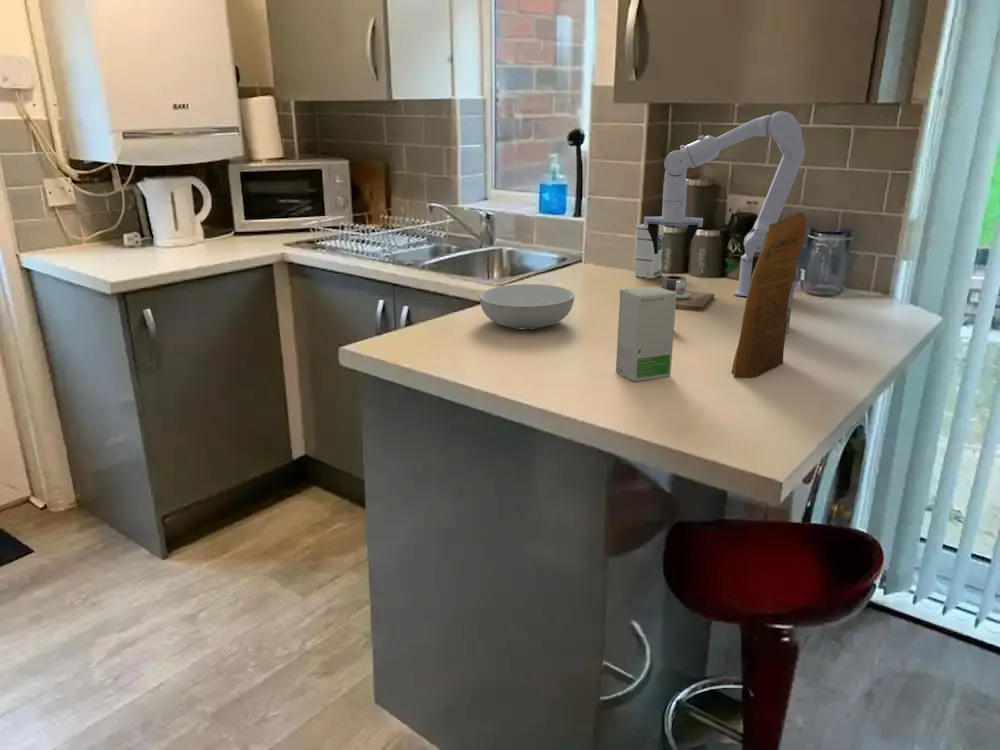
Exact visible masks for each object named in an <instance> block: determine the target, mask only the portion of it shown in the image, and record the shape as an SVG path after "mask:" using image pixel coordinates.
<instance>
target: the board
mask: <svg viewBox="0 0 1000 750" xmlns="http://www.w3.org/2000/svg"><path fill="white" fill-rule="evenodd" d="M666 290H668V289H666ZM670 291H676V290H670ZM685 291H686V290H685ZM686 292H689V293H691V298H690V299H687V300H676V307H675V309H678V310H682V309H683V310H688V309H692V310H691V311H698V310H701V311H700V312H702V311H703V310H704V309H705V308H706V307H707V306H709V304H710V303H709V302H710V301H711V300H712V301H713V299H714V298H715V293H707V292H697V291H686ZM712 301H711V302H712Z"/></svg>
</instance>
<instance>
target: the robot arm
mask: <svg viewBox="0 0 1000 750" xmlns="http://www.w3.org/2000/svg"><path fill="white" fill-rule="evenodd" d="M767 134H768V135H769V136H770V137H771V138H772V139H773V140H774V141H775V142H776V143H777V147H778V148H779V150H780V151H781V154H782V157H781V159H780V162H779V165H778V166H777V169H776V171H775V174H774V176H773V178H772V182H771V184H770V186H769V190H768V192H767V195H766V196H765V198H764V201H763V204H762V206H761V209H760V211H759V215H758V217H757V218H756V220H755V222H754V225H753V227H752V228H751V230H750V231H749V232H748V233H746V235H745V236H744V239H743V247H744V254H743V255H741V256H740V263H739V273H738V274H739V276H738V284H737V285H738V286H737V289H736V290H735V291H734V293H733V296H739V297H747V296H748V291H749V286H750V279H751V270H752V261H753V255H754V252H761V249H762V246H763V243H764V240H765V236H766V232H768V231H769V225H771V224H773V223H777V222H779V218H780V216H781V214H782V211H783V209H784V206H785V205H786V201H787V199H788V196H790V195H789V194H790V192H791V190H792V188H793V187H792V186H793V185H794V183H795V180H796V178H797V174H798V172H799V170H800V167H801V165H802V163H803V160H804V158H805V155H806V148H805V144H804V138H803V134H802V127H801V125H800V123H799V122H798V120H797V118H796V117H795V115H793V114H792V113H791V112H788V111H784V110H783V111H782V110H779V111H775V112H773V113H772V114H771V115H770V114H766V115H763V116H760V117H757V118H754V119H752V120H749V121H747V122H745V123H743V124H741V125H739V126H738V127H735V128H733V129H731V130H729V131H727V132H725V133H723V134H721V135H719V136H717V137H716V136H712V135H710V134H709V135H706V136H704V134H702V135H700V136H698V139H697V140H695V141H693V142H691V143H689V144H686V145H685V144H682V145H680V146H679V149H680V150H678V149H677V150H673V151H671V152H669V154H667V156H666V157H665V159H664V162H663V164H664V165H663V167H664V169H665V172H664V181H663V187H662V188H663V189H662V190H663V191H662V209H661V210H662V211H661V216H644V217H643V224H644V225H648V231H649V234H650V236H651V239H652V242H653V246H654V254H657V253H658V232H659V225H664V226H673V227H674V226H677V227H680V226H681V227H686V241H685V242H686V244H685V249H684V256H689V251H690V246H691V244H692V241H693V239H694V236H695V235H696V233H697V231H698V229H699V228H703V225H704V224H703V222H704V218H703V217H693V216H692V217H688V216H686V209H687V207H686V206H687V205H686V204H687V190H688V189H687V188H688V181H687V173H688V171H687V170H688V169H689V168H692V169H695V168H697V167H699V166H700V165H703V164H706V163H708V162H710V161H712V160H714V159H716V158H718V157H719V155H720V152H721V150H724V149H725V148H728V147H731V146H733V145H735V144H737V143H740V142H742V141H744V140H745V141H746V140H747V139H750V138H753V137H763V138H767Z"/></svg>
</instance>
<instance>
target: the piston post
mask: <svg viewBox="0 0 1000 750" xmlns="http://www.w3.org/2000/svg"><path fill="white" fill-rule="evenodd" d="M673 292H676V293H677V294H676V300H687V299H690V298H691V293H689V292H690V291H689V292H686V288H685V281H683V280H678V281H676V291H673Z"/></svg>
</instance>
